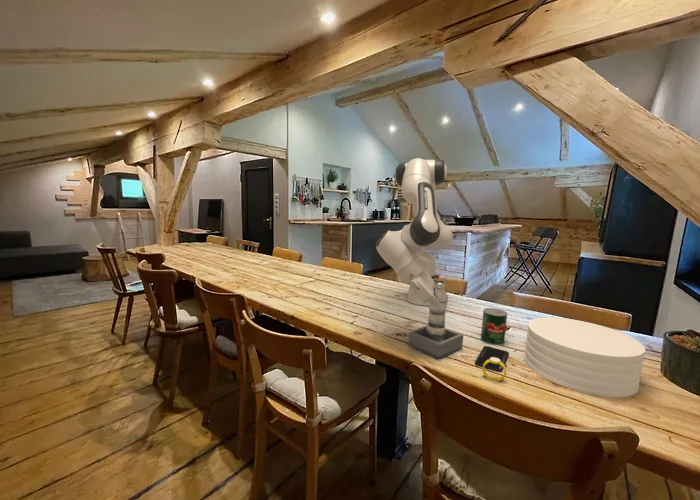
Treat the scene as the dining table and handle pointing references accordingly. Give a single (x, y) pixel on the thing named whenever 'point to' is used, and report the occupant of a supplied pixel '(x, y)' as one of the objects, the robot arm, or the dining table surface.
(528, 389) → the dining table surface
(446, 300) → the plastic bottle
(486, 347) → the phone
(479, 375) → the dining table surface
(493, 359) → the watch
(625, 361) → the plate stack
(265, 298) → the dining table surface
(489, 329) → the canned tomato
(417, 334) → the tray
